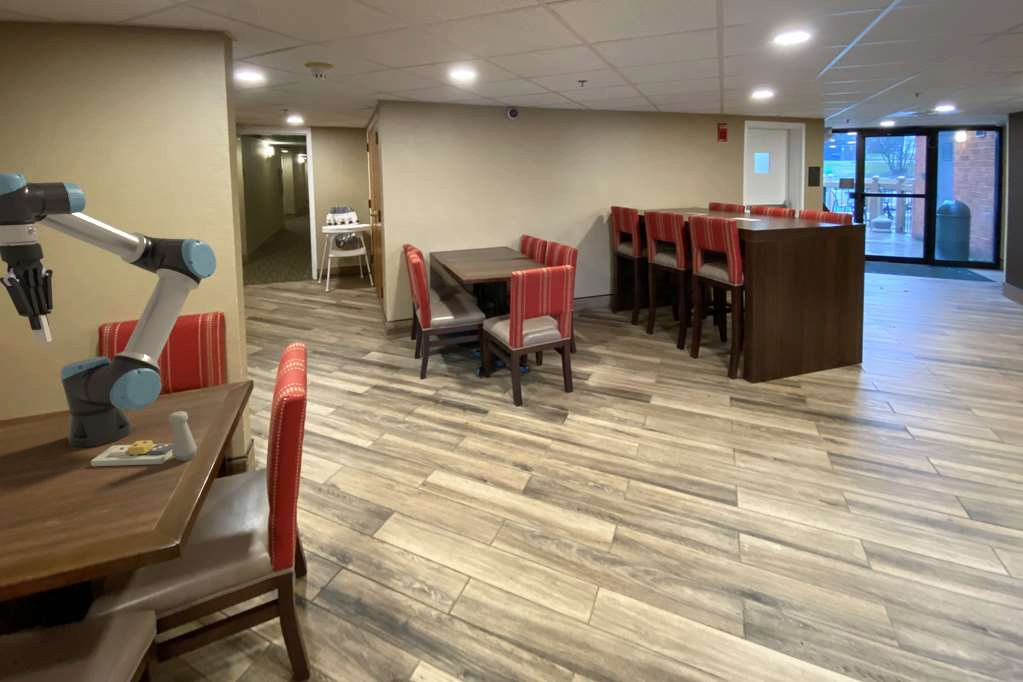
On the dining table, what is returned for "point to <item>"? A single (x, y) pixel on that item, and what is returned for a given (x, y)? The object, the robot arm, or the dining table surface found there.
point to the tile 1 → (120, 451)
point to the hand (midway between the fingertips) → (44, 341)
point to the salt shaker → (182, 437)
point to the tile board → (128, 458)
